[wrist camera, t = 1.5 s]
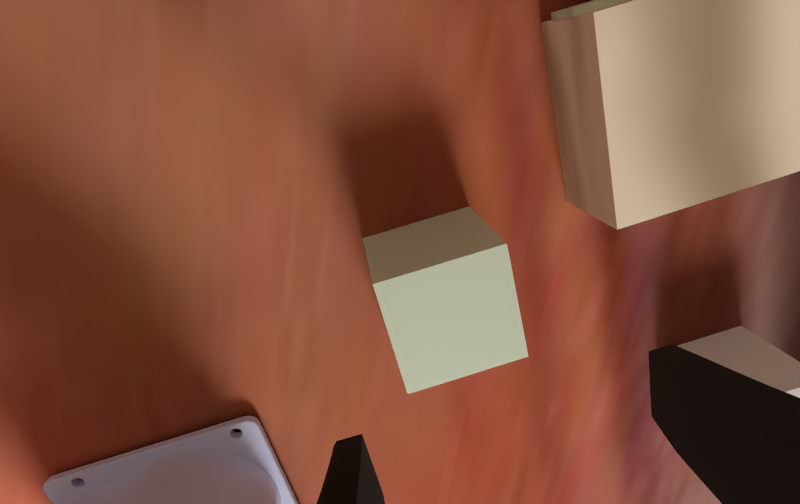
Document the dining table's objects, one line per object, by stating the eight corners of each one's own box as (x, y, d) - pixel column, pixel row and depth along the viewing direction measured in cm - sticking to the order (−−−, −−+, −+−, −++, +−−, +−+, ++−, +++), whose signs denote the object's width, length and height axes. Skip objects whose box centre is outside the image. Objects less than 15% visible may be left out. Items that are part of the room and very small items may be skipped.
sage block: (391, 330, 21) (407, 394, 17) (362, 237, 20) (372, 284, 16) (489, 300, 22) (528, 356, 17) (468, 205, 20) (506, 243, 16)
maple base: (564, 199, 21) (617, 229, 17) (536, 15, 18) (592, 3, 14) (724, 148, 21) (811, 167, 17) (721, -41, 18) (824, -68, 14)
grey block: (659, 421, 26) (723, 490, 22) (654, 351, 24) (724, 411, 20) (739, 395, 26) (818, 459, 22) (740, 324, 24) (826, 378, 20)
